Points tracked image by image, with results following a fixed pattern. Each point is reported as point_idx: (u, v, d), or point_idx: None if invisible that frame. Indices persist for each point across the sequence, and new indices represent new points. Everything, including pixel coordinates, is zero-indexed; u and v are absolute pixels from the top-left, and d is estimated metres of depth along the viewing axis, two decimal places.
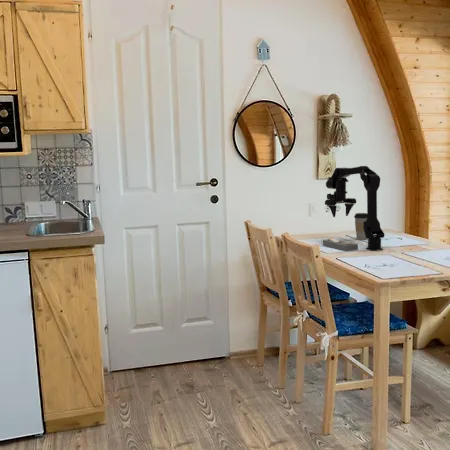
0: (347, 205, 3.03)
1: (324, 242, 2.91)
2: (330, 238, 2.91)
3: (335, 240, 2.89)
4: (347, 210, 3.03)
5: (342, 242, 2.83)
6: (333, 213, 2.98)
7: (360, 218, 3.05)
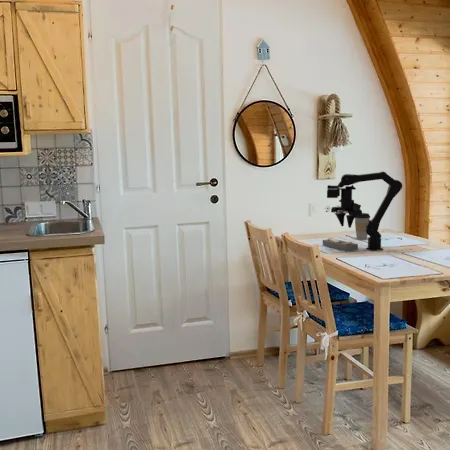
0: None
1: (324, 242, 2.91)
2: (330, 238, 2.91)
3: (335, 240, 2.89)
4: None
5: (342, 242, 2.83)
6: None
7: (360, 218, 3.05)
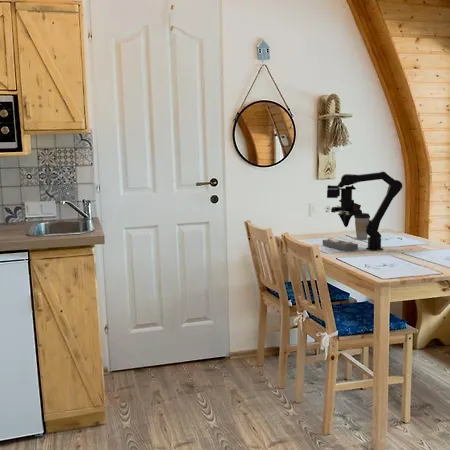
0: None
1: (324, 242, 2.91)
2: (330, 238, 2.91)
3: (335, 240, 2.89)
4: None
5: (342, 242, 2.83)
6: None
7: (360, 218, 3.05)
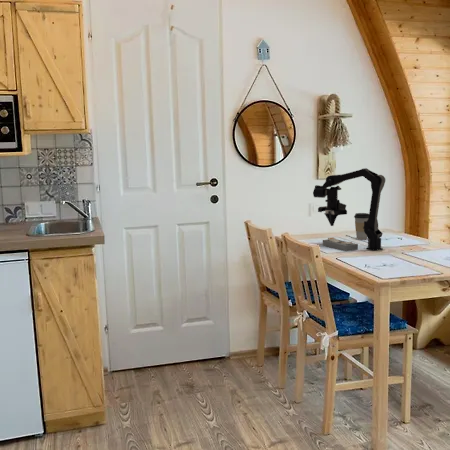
0: None
1: (324, 242, 2.91)
2: (330, 238, 2.91)
3: (335, 240, 2.89)
4: None
5: (342, 242, 2.83)
6: None
7: (360, 218, 3.05)
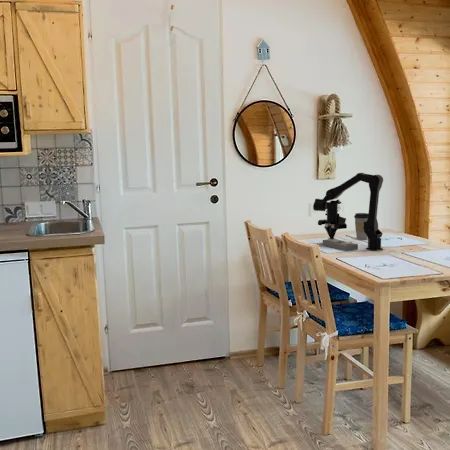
0: None
1: (324, 242, 2.91)
2: (330, 238, 2.91)
3: (335, 240, 2.89)
4: None
5: (342, 242, 2.83)
6: None
7: (360, 218, 3.05)
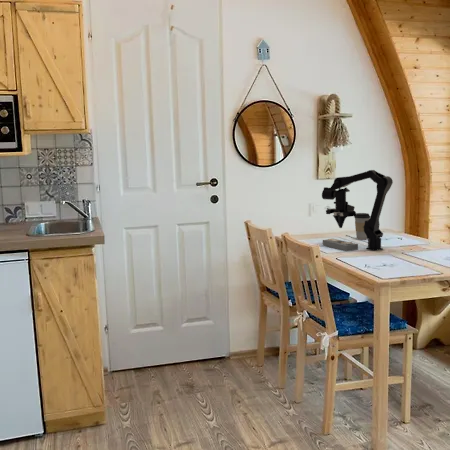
0: None
1: (324, 242, 2.91)
2: (330, 239, 2.91)
3: (335, 239, 2.89)
4: None
5: (342, 242, 2.83)
6: None
7: (360, 218, 3.05)
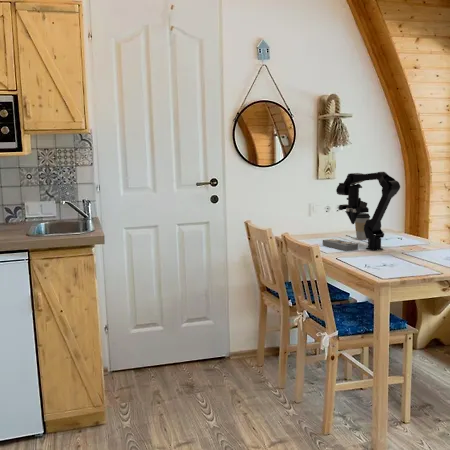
0: None
1: (324, 242, 2.91)
2: (330, 239, 2.91)
3: (335, 239, 2.89)
4: None
5: (342, 242, 2.83)
6: None
7: (360, 218, 3.05)
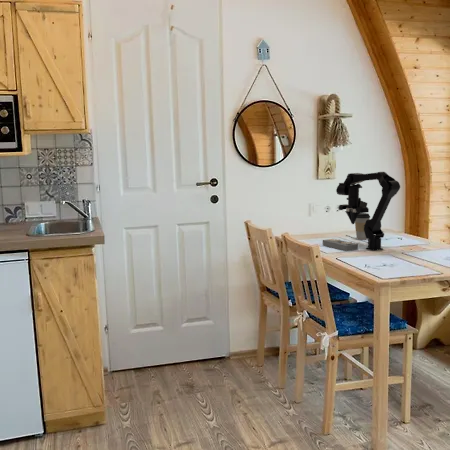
0: None
1: (324, 242, 2.91)
2: (330, 239, 2.91)
3: (335, 239, 2.89)
4: None
5: (342, 242, 2.83)
6: None
7: (360, 218, 3.05)
